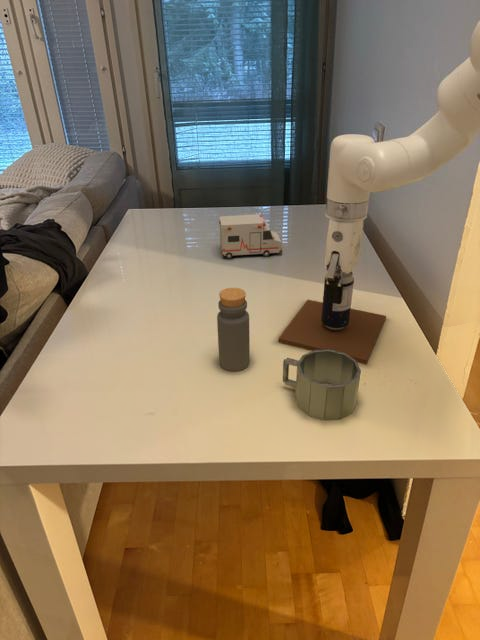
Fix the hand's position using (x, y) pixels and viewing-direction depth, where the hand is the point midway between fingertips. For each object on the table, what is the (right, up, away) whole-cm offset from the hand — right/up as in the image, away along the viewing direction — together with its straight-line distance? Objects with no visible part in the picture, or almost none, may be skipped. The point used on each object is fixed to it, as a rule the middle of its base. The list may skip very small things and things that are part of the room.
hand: (337, 294), depth 94 cm
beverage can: (0, -6, +4) cm, 7 cm away
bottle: (-21, -13, -4) cm, 25 cm away
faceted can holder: (-6, -19, -14) cm, 24 cm away
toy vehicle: (-17, +14, +41) cm, 47 cm away
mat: (0, -7, +5) cm, 9 cm away
